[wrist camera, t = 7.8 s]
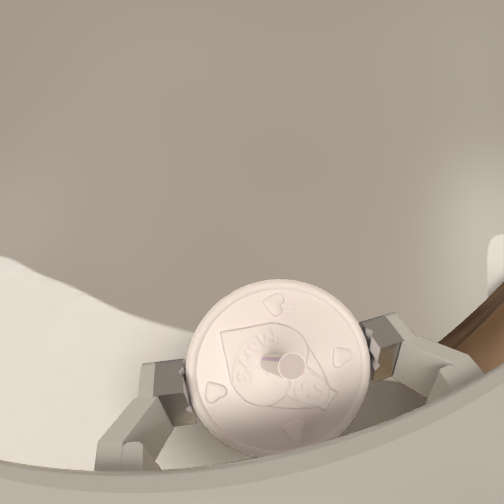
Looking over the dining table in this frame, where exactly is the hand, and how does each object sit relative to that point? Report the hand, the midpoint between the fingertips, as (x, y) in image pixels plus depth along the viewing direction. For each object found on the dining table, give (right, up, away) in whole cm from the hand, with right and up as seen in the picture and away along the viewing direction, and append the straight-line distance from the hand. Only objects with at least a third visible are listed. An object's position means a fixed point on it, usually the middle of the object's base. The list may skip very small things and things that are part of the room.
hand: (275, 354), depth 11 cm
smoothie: (0, -3, +8) cm, 9 cm away
